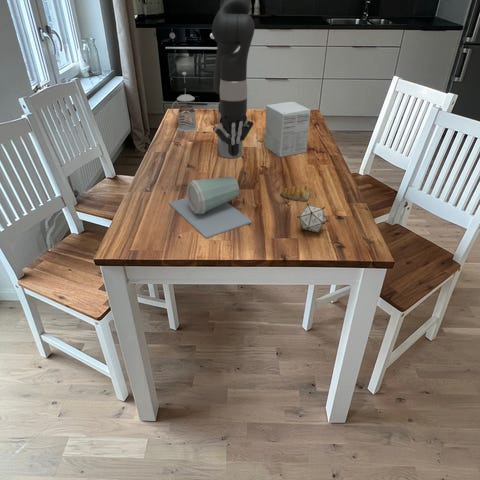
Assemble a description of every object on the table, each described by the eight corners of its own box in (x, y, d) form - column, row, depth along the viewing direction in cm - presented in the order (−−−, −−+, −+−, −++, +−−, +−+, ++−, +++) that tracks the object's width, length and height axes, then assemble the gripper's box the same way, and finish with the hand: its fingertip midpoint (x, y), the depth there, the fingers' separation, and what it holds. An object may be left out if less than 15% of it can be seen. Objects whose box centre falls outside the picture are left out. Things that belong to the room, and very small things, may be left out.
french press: (197, 132, 189) (194, 74, 175) (171, 131, 189) (166, 74, 175) (199, 125, 197) (196, 69, 183) (174, 124, 197) (170, 69, 183)
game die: (303, 239, 124) (292, 207, 124) (331, 229, 123) (320, 197, 123) (305, 241, 115) (293, 207, 115) (334, 231, 114) (322, 196, 114)
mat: (168, 203, 134) (168, 202, 133) (211, 191, 141) (211, 190, 141) (206, 238, 117) (206, 237, 117) (252, 222, 125) (252, 221, 124)
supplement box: (307, 152, 170) (311, 109, 161) (279, 157, 166) (282, 114, 156) (290, 141, 180) (293, 100, 170) (263, 146, 175) (265, 104, 166)
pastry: (280, 200, 137) (280, 190, 135) (281, 191, 142) (282, 181, 140) (308, 202, 136) (310, 192, 134) (308, 193, 141) (310, 182, 139)
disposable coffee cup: (225, 167, 133) (181, 178, 127) (240, 172, 124) (194, 185, 118) (230, 199, 137) (188, 211, 131) (245, 206, 128) (200, 219, 122)
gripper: (245, 89, 120) (244, 146, 129) (205, 96, 114) (207, 155, 123) (260, 95, 115) (258, 154, 124) (220, 103, 108) (221, 164, 118)
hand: (233, 155), depth 124 cm, fingers closed
